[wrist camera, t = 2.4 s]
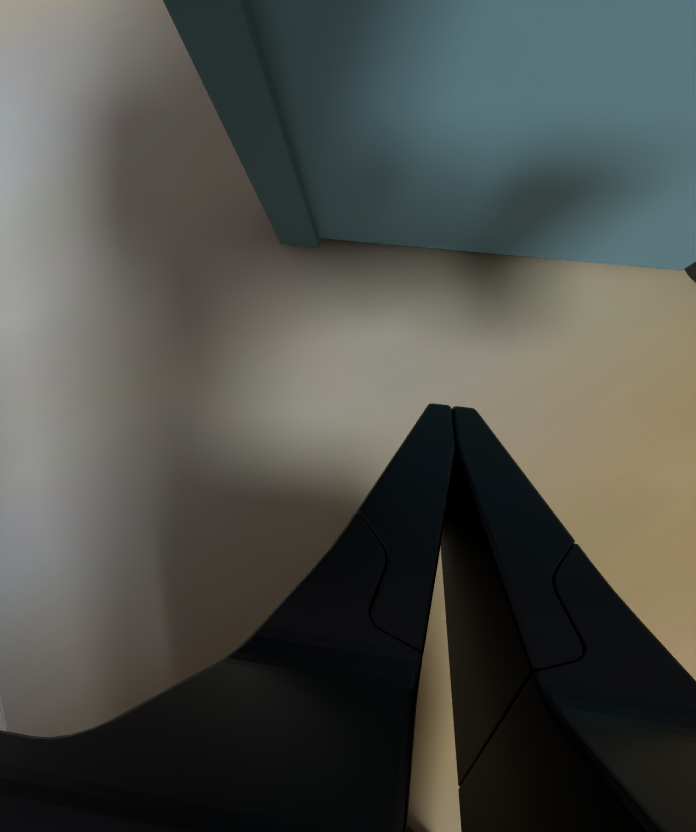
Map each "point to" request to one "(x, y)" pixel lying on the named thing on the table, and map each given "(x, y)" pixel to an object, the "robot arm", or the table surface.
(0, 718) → the block
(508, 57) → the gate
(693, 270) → the gate post
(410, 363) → the table surface
